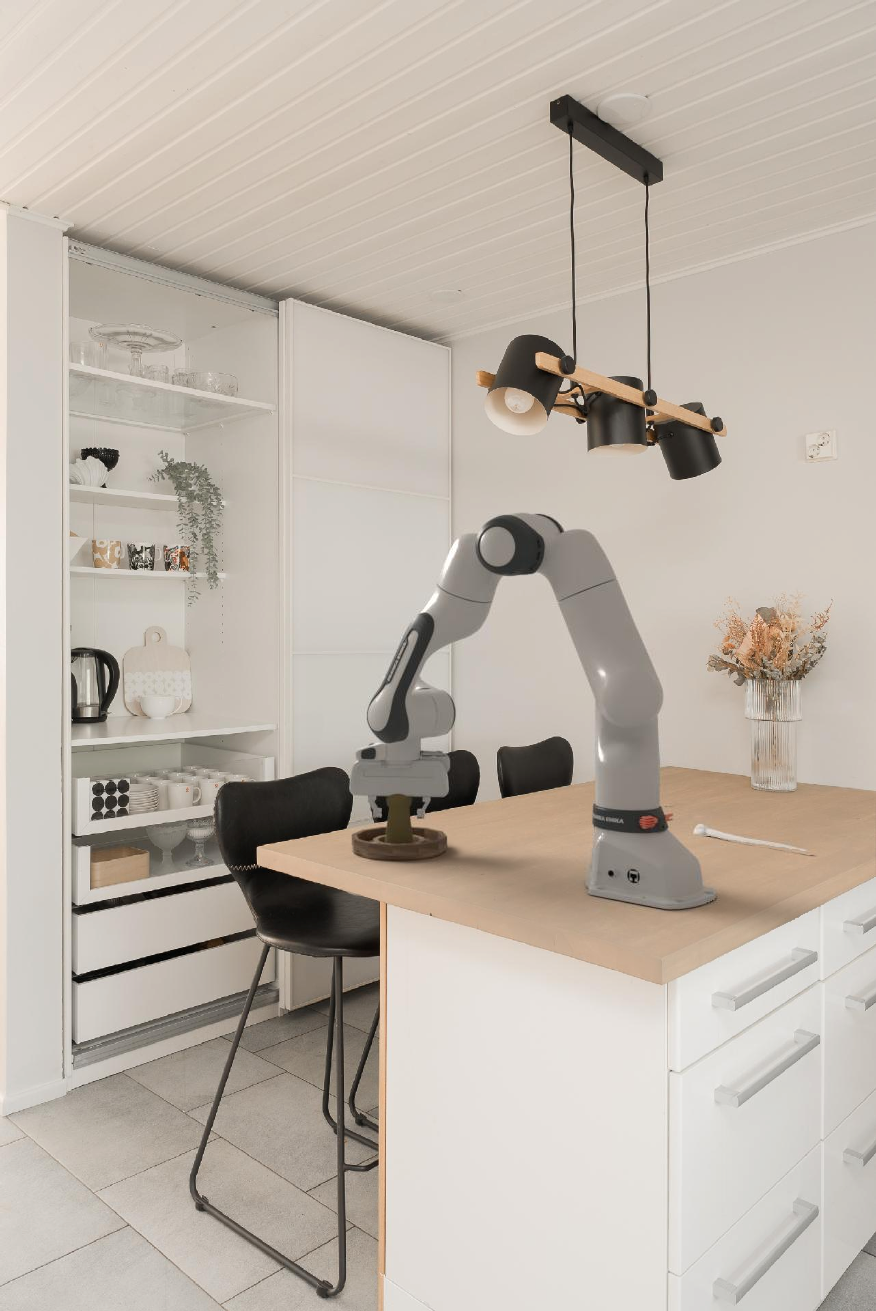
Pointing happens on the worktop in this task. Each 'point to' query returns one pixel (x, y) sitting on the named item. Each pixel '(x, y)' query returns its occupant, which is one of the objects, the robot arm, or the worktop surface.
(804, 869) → the worktop surface
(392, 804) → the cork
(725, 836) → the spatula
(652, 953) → the worktop surface
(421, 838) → the tray
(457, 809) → the worktop surface
